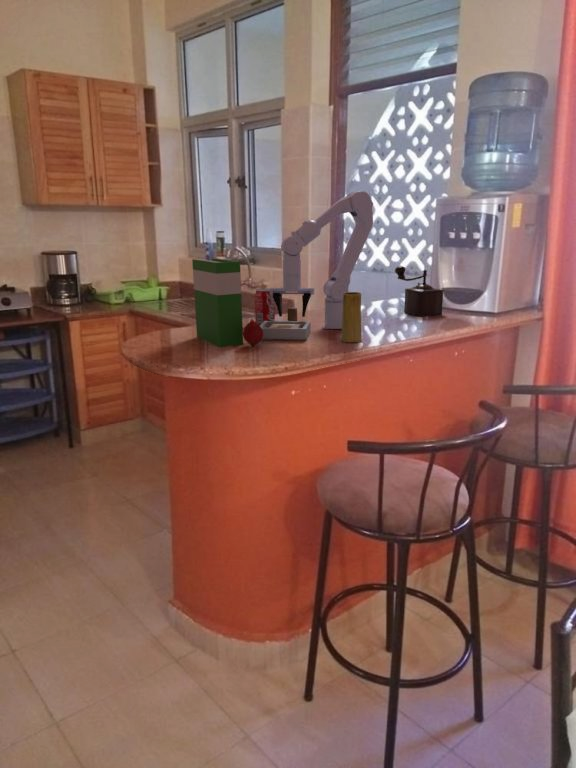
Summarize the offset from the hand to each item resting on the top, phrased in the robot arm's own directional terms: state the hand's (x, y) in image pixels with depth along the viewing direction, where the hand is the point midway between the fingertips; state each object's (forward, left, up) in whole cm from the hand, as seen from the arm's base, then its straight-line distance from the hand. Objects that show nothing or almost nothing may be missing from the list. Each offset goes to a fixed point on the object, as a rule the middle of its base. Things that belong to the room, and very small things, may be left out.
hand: (292, 316), depth 187 cm
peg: (0, 0, -4) cm, 4 cm away
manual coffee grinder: (-43, -33, -5) cm, 54 cm away
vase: (-20, +17, -5) cm, 27 cm away
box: (+1, +11, -4) cm, 12 cm away
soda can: (+11, -10, -5) cm, 15 cm away
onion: (+8, +26, -5) cm, 28 cm away
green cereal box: (+20, +19, -5) cm, 28 cm away
